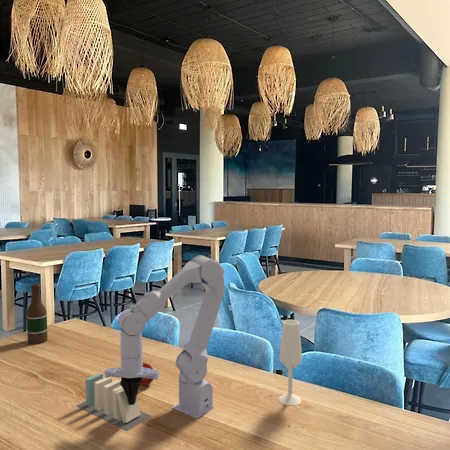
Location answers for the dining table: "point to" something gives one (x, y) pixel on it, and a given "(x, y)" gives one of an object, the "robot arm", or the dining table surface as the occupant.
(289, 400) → the champagne flute
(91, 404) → the domino
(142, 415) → the runner mat
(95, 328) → the dining table surface
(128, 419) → the domino
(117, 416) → the domino
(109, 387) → the domino
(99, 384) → the domino
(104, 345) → the dining table surface
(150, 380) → the onion
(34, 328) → the beer bottle
